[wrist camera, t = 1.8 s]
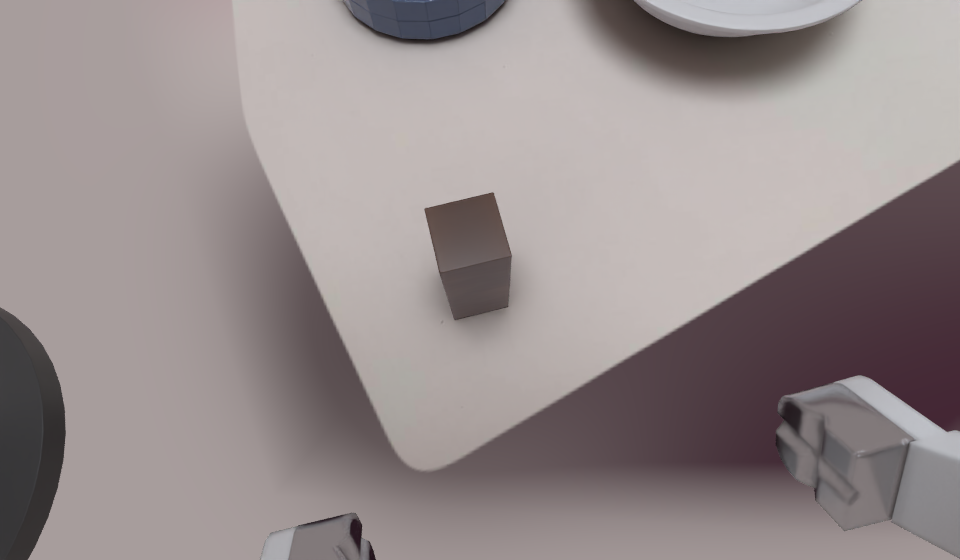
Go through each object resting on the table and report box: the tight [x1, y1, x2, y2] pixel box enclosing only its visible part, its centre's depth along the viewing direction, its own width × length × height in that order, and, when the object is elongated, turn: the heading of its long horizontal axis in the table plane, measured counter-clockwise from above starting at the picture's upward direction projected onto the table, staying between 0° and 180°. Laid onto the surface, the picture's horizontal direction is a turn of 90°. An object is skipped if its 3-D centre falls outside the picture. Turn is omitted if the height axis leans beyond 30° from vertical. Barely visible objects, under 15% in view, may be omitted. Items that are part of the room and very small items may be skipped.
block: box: [425, 193, 512, 320], centre depth 33 cm, size 4×4×10 cm
